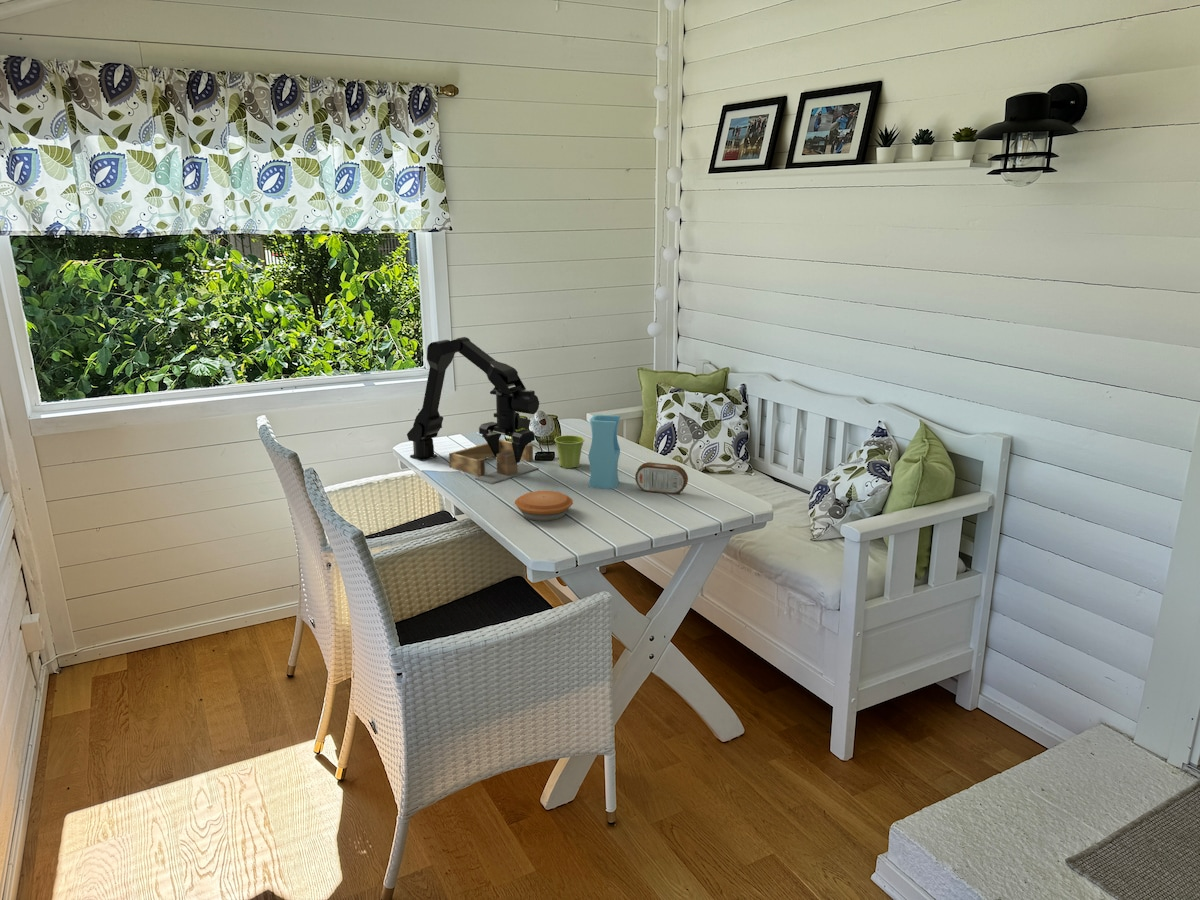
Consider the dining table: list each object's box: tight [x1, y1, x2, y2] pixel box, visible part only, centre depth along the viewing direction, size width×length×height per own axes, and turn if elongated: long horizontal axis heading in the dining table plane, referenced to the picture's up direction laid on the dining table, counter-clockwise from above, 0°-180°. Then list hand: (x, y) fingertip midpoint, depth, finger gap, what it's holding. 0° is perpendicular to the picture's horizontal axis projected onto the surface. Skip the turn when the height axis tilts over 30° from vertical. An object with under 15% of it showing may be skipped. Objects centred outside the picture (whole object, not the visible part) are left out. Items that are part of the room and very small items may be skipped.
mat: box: [474, 462, 540, 485], centre depth 268 cm, size 7×20×1 cm, turn 140°
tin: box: [634, 461, 689, 495], centre depth 251 cm, size 15×3×8 cm, turn 74°
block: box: [496, 451, 518, 476], centre depth 267 cm, size 4×4×6 cm
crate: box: [448, 439, 534, 477], centre depth 277 cm, size 14×23×5 cm, turn 140°
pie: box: [514, 490, 574, 522], centre depth 234 cm, size 15×16×5 cm
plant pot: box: [554, 434, 585, 469], centre depth 275 cm, size 9×9×9 cm
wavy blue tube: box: [587, 414, 621, 490], centre depth 256 cm, size 8×8×20 cm
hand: (507, 459), depth 267 cm, fingers open, 9 cm apart
